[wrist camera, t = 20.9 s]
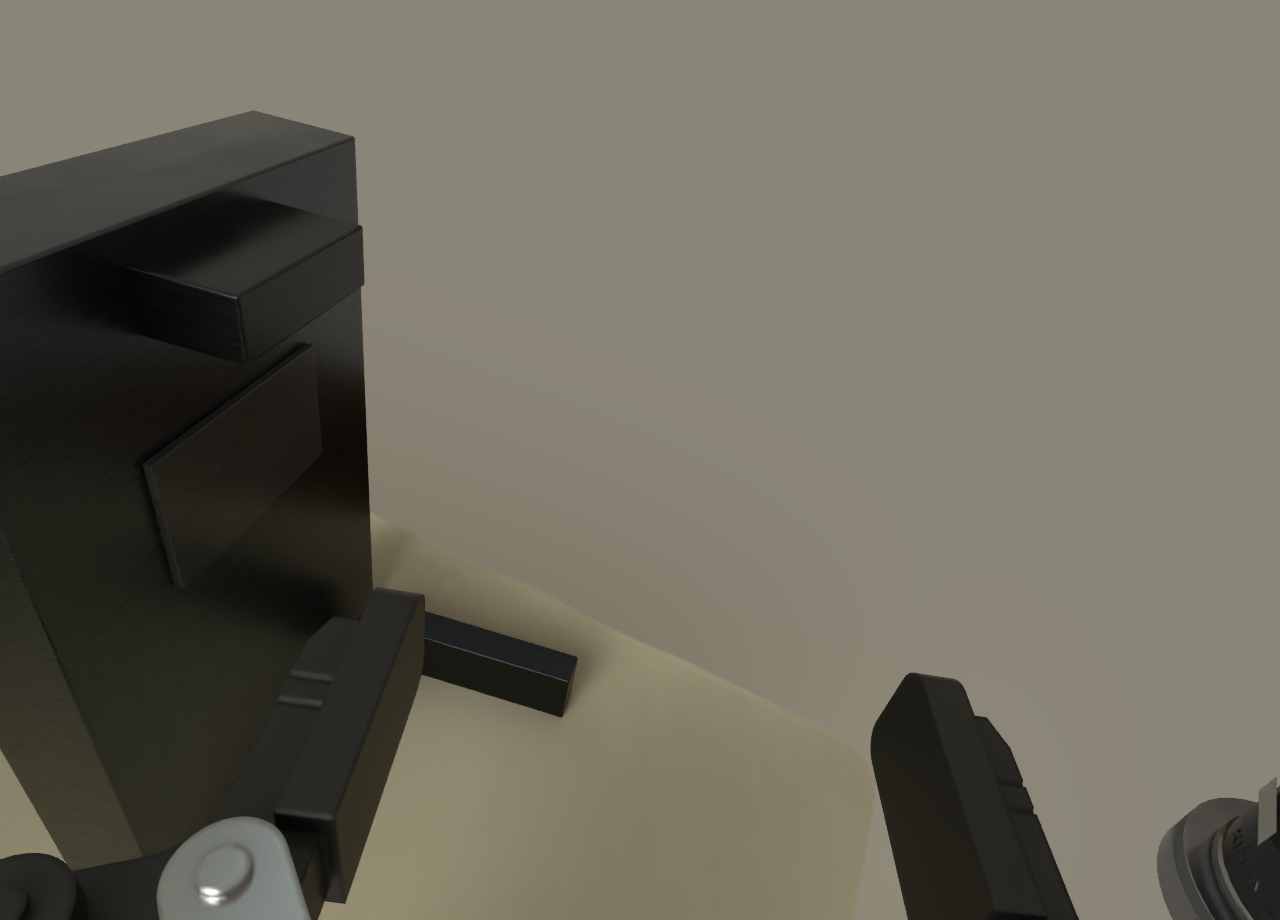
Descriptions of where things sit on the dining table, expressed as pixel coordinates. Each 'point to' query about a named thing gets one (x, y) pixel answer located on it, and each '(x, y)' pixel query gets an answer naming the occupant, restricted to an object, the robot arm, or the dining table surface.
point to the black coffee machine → (186, 472)
